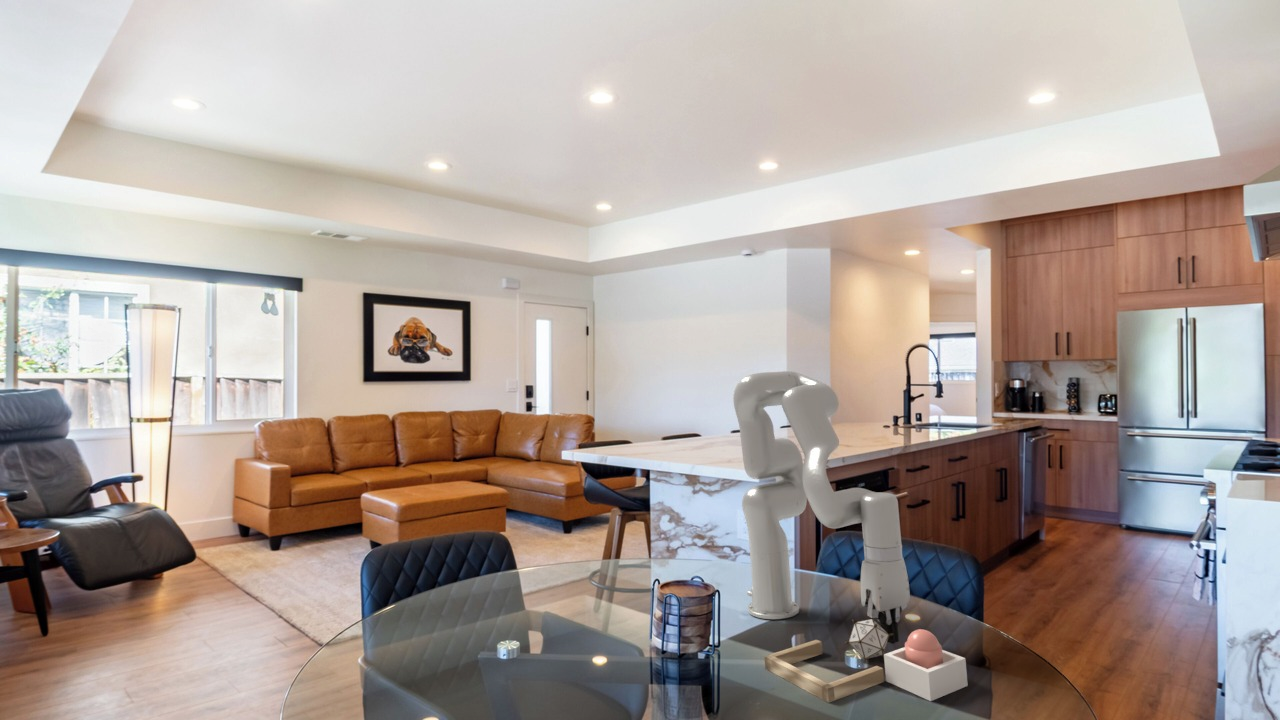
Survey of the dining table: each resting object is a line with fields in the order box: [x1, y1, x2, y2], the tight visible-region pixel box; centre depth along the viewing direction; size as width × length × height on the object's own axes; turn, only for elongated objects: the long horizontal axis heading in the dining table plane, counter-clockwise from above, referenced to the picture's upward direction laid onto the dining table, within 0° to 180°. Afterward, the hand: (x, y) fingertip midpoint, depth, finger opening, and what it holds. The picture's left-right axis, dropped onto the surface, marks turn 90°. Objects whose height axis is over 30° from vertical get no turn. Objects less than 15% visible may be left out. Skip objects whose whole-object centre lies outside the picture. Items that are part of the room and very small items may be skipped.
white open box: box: [883, 646, 968, 702], centre depth 126 cm, size 10×10×5 cm
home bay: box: [763, 639, 885, 704], centre depth 133 cm, size 18×14×2 cm
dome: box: [904, 628, 943, 669], centre depth 126 cm, size 6×6×6 cm
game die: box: [844, 617, 893, 664], centre depth 139 cm, size 9×8×10 cm
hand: (890, 640), depth 142 cm, fingers closed
